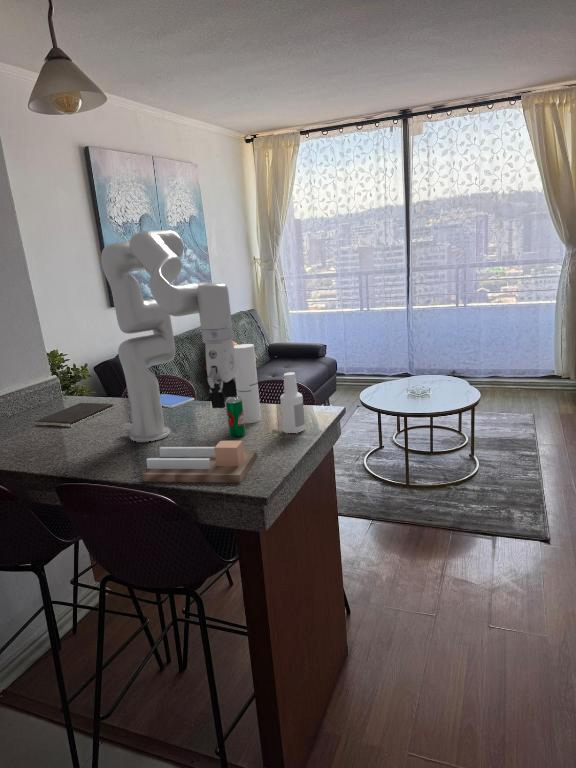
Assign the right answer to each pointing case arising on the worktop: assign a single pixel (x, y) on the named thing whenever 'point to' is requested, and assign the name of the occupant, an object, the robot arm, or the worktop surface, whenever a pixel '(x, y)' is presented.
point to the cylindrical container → (247, 382)
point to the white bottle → (292, 406)
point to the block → (229, 453)
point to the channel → (182, 462)
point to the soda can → (235, 416)
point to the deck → (203, 472)
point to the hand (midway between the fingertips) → (225, 402)
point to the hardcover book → (75, 413)
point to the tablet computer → (173, 400)
